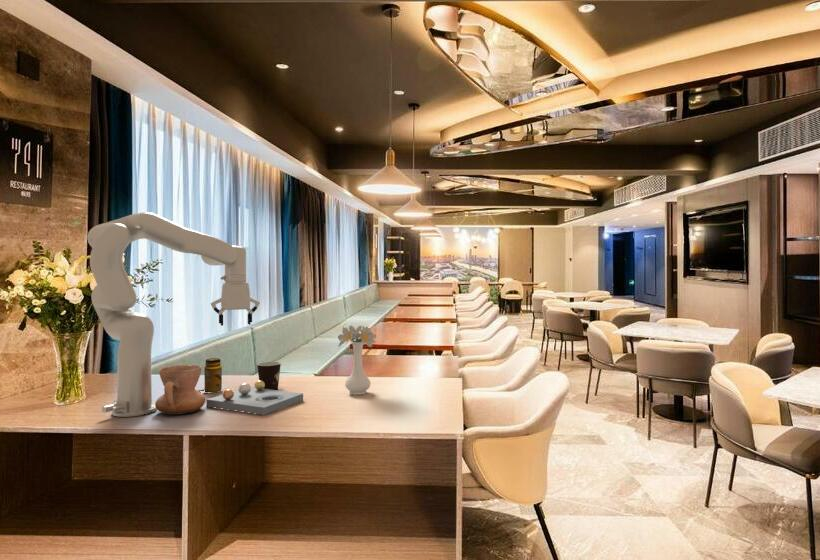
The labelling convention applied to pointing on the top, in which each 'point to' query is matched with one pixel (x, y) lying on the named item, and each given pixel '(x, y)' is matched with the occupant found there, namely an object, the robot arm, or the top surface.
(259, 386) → the brass ball
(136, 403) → the robot arm
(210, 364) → the condiment
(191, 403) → the ceramic jug
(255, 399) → the grey flat board
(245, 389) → the steel ball
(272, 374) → the coffee mug
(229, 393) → the copper ball
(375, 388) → the top surface
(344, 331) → the flower vase
